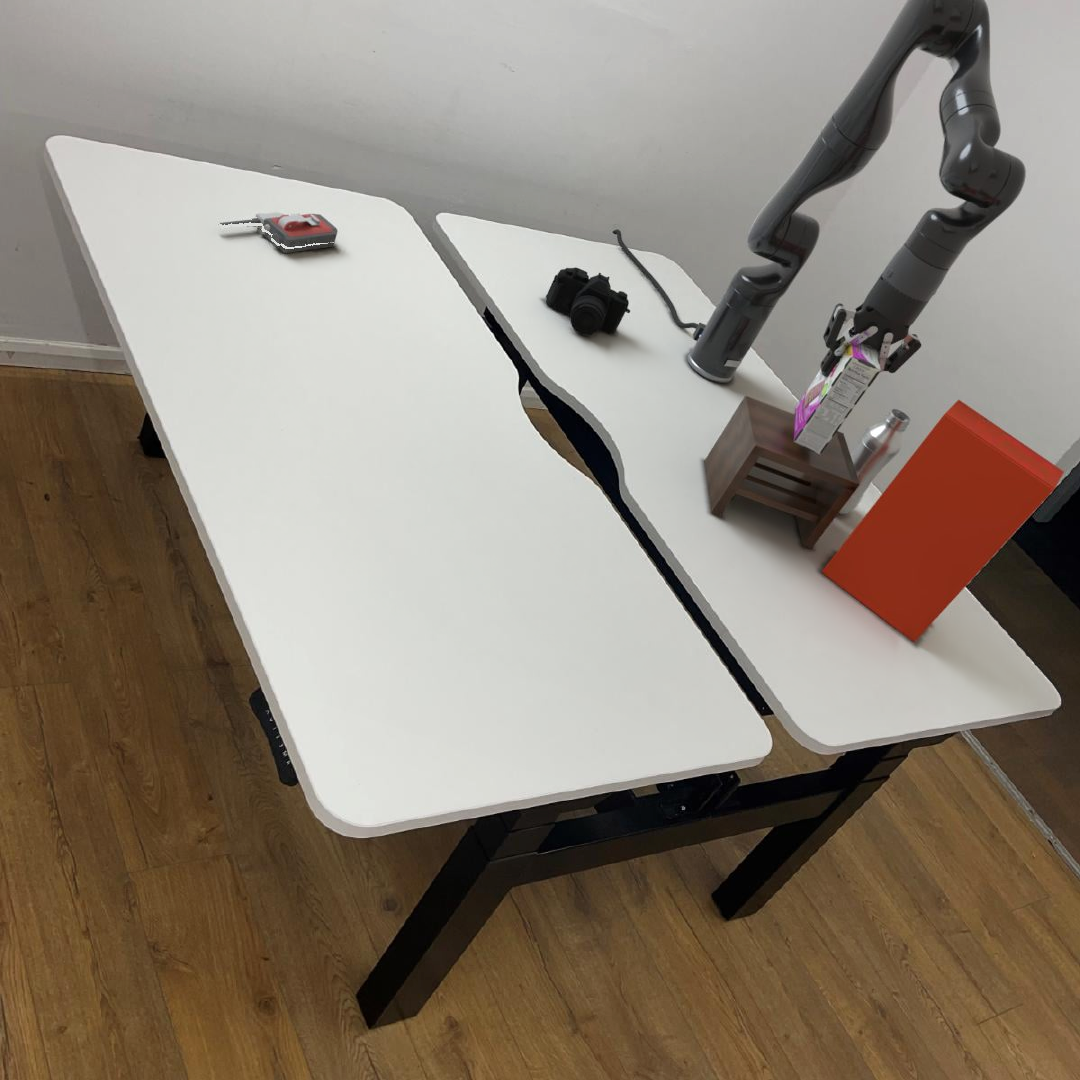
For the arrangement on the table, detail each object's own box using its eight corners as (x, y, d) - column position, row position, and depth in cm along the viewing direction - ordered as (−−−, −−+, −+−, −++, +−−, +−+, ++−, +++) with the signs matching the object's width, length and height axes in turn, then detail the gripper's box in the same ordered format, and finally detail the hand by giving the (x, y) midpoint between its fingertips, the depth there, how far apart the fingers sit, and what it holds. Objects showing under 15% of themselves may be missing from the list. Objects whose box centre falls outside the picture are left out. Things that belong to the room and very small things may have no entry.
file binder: (913, 644, 159) (1054, 489, 140) (820, 573, 163) (944, 413, 144) (927, 622, 165) (1064, 470, 146) (837, 554, 169) (959, 398, 150)
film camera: (537, 317, 189) (556, 274, 184) (546, 295, 197) (564, 253, 191) (613, 351, 191) (634, 310, 185) (619, 329, 198) (639, 288, 193)
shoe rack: (703, 461, 175) (745, 395, 166) (798, 496, 178) (843, 433, 170) (710, 513, 164) (755, 445, 155) (811, 549, 168) (860, 484, 159)
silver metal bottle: (809, 492, 181) (875, 401, 169) (837, 493, 184) (903, 404, 172) (828, 518, 177) (897, 426, 165) (857, 519, 180) (926, 429, 168)
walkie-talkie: (309, 219, 183) (213, 229, 168) (315, 196, 180) (218, 205, 165) (341, 247, 180) (247, 260, 165) (348, 224, 177) (253, 235, 163)
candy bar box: (792, 407, 166) (850, 321, 156) (820, 421, 166) (879, 336, 157) (790, 442, 157) (852, 354, 147) (820, 457, 158) (883, 370, 148)
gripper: (944, 290, 150) (877, 384, 160) (858, 252, 147) (795, 350, 157) (958, 315, 144) (887, 410, 154) (868, 276, 141) (802, 376, 151)
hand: (841, 380), depth 156 cm, fingers closed on candy bar box, 5 cm apart
